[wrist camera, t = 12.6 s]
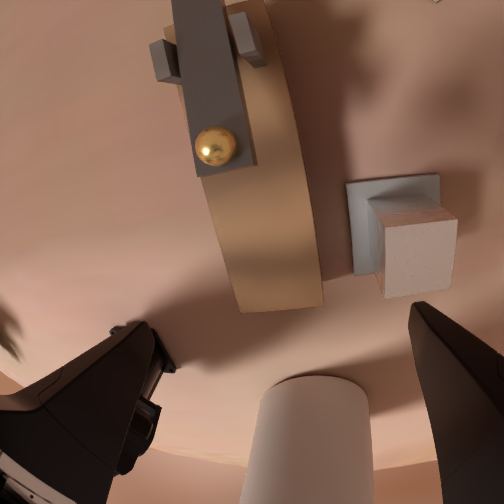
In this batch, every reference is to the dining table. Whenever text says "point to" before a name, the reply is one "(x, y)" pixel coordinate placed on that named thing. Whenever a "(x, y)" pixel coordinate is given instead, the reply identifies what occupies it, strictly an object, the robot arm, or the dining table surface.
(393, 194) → the rubber mat
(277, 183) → the plane body
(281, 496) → the cylinder vase
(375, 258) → the cap block
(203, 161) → the lever
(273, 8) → the dining table surface
